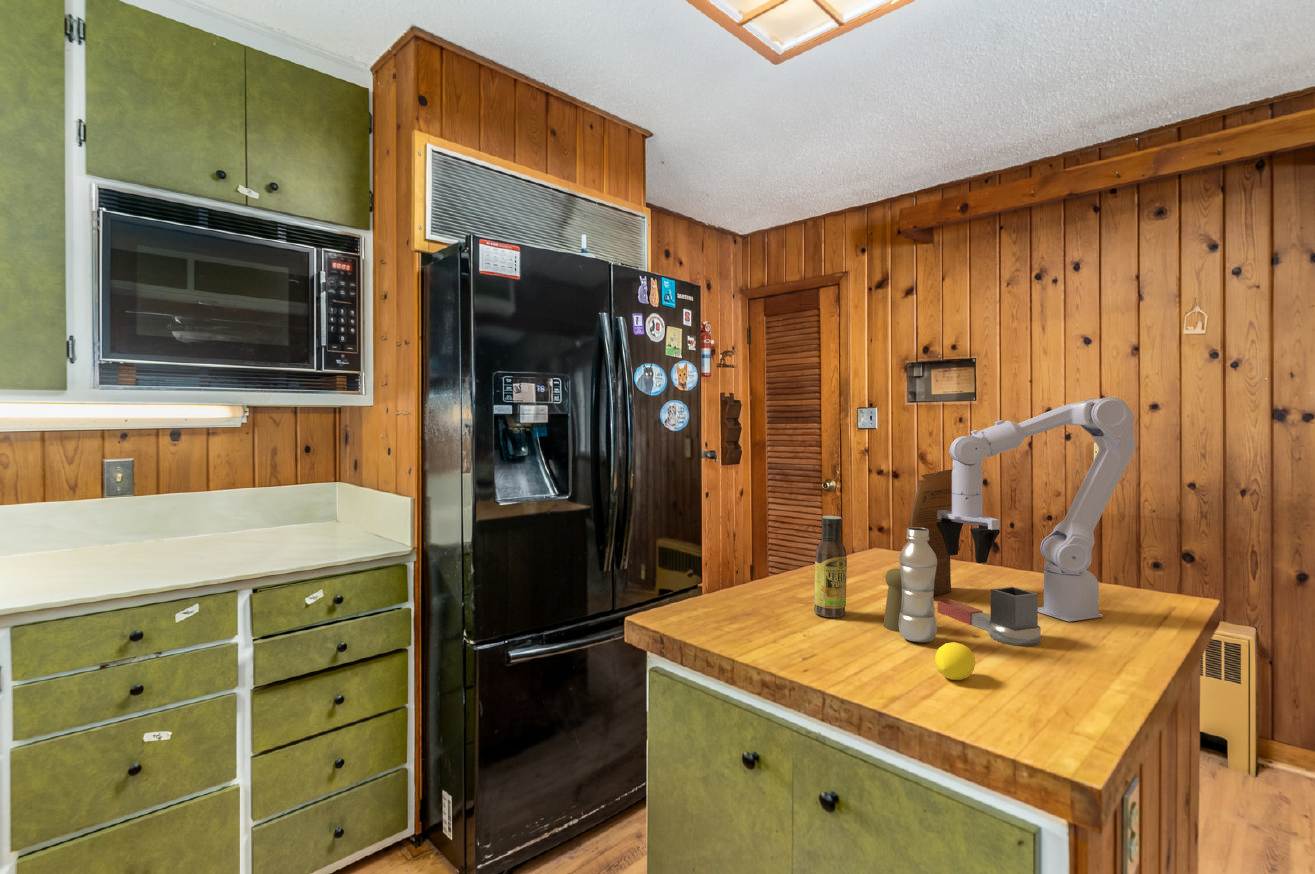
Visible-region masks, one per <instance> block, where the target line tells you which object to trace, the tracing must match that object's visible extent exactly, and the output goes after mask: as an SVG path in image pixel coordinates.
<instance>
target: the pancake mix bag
mask: <svg viewBox="0 0 1315 874" xmlns="http://www.w3.org/2000/svg"><path fill="white" fill-rule="evenodd" d="M952 471H953V469H946V470H939V471H937V472H932V473H924V474H922V475H920V479H919V480H918V484H917V488H916V492H915V498H914V501H913V505H912V506H913V507H912V510H911V516H910V522H909V528H911V527H918V528H926V529H928V531H929V540H928V544H929V546H930V547H931V548H932V550H933V551H934V553H935V555H936V558H937V566H936V573H935V579H934V590H933V591H934V594H933V598H934V597H937V596H940V595H945V594H947V593H952V579H951V577H952V576H951V575H952V573H951V570H952V569H951V556H950V555H948V554H947V550H946V546H945V542H944V539H943V537H942V534H941V532H940V530H939V529H938V527H937V526H936V522H941V520H940V519H937V511H938V510H948V511H952Z"/></svg>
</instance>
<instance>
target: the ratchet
mask: <svg viewBox="0 0 1315 874" xmlns="http://www.w3.org/2000/svg"><path fill="white" fill-rule="evenodd" d="M937 613H939V614H941V615H944V614H946V615H945V616H947V615H948V616H947V617H949V616H950V618H952V619H955V620H957V619H958V620H957V621H960V622H962V623H965V624H967V623H968V624H967V625H971V626H974V627H977V628H979V629H981V628H982V630H985V631H986V630H987V632H988V633H989V634H988V635H989V637H990V638H991V639H992V638H993V639H992V640H994V641H996V640H997V642H999V643H1001V642H1003V643H1002V644H1005V643H1007V644H1006V645H1009V644H1011V646H1015V645H1016V646H1018V647H1036V646H1039V645H1040V644H1041V638H1042V636H1041V634H1042V632H1041V631H1042V630H1041V626H1040V625H1038V628H1032V629H1025V630H1019V631H1014V630H1011V629H1008V628H1006V627H1003V626H1000V625H997V624H995V623H992V622H991V614H989V613H987V612H983V609H978V608H976V607H973V606H971V605H967V604H965V603H962V602H959V601H957V600H953V599H951V598H946V599H938V600H937Z"/></svg>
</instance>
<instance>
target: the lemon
mask: <svg viewBox="0 0 1315 874" xmlns="http://www.w3.org/2000/svg"><path fill="white" fill-rule="evenodd" d="M934 656H935V659H934V661H935V662H934V664H935V666H936V669H937V671H938V672H939V673H940V674H942V675H943V677H944V678H945V679H948V680H951V681H962V680H964V679H966V678H968V677H970V675H971V674H972V673H973V672H974V671H975V666H976V663H977V661H976V658H975V655H974V654H973V651H972V650H971V648H969V647H968V646H966V645H964V644H963V643H958V642H955V641H951V642H946V643H944V644H942V645H941V646H939V647H938V649H937V650H936V653H935V655H934Z"/></svg>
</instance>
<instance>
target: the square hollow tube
mask: <svg viewBox="0 0 1315 874" xmlns="http://www.w3.org/2000/svg"><path fill="white" fill-rule="evenodd" d="M1038 599H1039V594H1038V593H1036V592H1033V591H1030V590H1025V589H1022V588H1018V587H1015V586H1008V587H999V588H992V589H990V615H991V622H992V623H995V624H997V625H1000V626H1003V627H1006V628H1008V629H1011V630H1014V631H1019V630H1025V629H1032V628H1038V626H1039V624H1038V623H1039V621H1038V619H1039V618H1038V615H1039V612H1038V607H1039V606H1038V605H1039V603H1038V602H1039V601H1038Z"/></svg>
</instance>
